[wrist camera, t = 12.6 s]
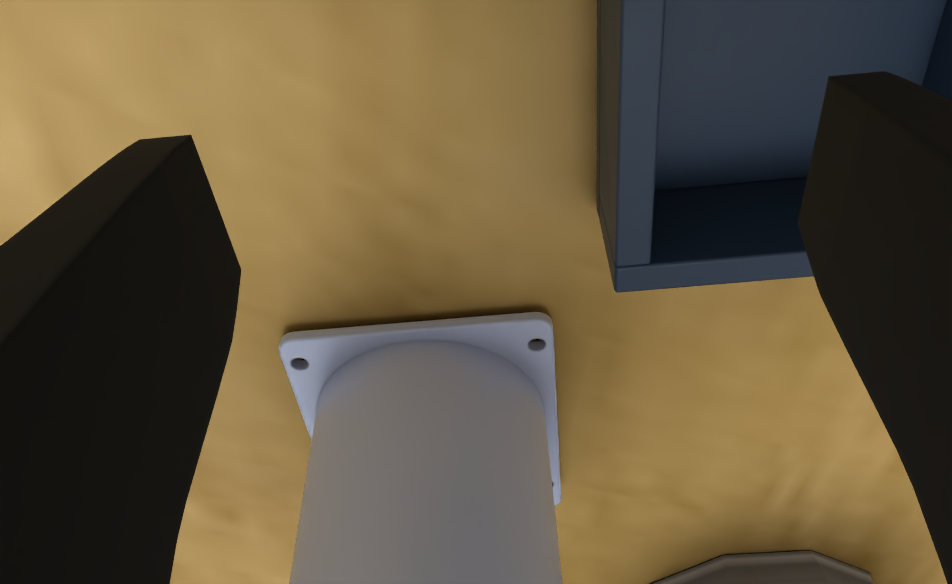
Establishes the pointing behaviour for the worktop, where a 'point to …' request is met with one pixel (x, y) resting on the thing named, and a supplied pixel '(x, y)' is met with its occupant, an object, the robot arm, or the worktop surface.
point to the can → (772, 570)
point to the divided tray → (732, 124)
